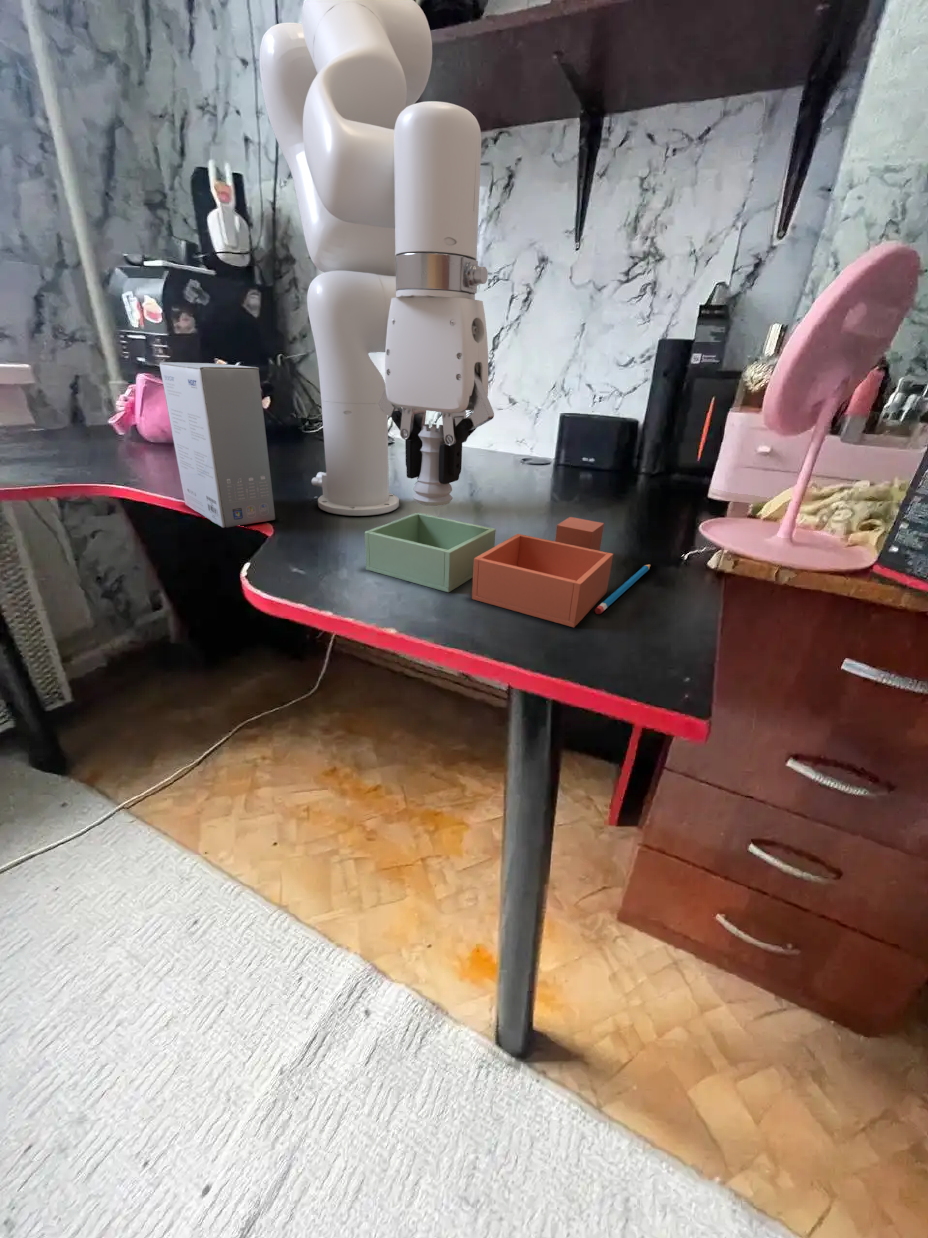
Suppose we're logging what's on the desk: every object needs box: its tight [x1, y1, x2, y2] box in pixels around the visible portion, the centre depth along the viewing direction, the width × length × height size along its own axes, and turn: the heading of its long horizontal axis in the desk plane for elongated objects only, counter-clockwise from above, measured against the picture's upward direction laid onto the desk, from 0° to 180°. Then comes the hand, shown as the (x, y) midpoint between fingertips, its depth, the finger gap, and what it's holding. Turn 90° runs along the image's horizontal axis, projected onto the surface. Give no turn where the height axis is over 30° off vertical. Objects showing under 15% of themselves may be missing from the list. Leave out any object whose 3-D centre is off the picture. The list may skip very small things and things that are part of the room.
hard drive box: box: [158, 361, 276, 529], centre depth 76 cm, size 16×8×20 cm, turn 43°
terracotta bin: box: [471, 533, 614, 628], centre depth 57 cm, size 11×10×4 cm
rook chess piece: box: [412, 423, 453, 507], centre depth 59 cm, size 4×4×8 cm
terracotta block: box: [554, 516, 605, 551], centre depth 68 cm, size 4×4×4 cm
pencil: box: [594, 564, 651, 615], centre depth 61 cm, size 1×17×1 cm, turn 146°
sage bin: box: [364, 512, 497, 593], centre depth 63 cm, size 11×10×4 cm
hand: (432, 477), depth 59 cm, fingers closed on rook chess piece, 3 cm apart
